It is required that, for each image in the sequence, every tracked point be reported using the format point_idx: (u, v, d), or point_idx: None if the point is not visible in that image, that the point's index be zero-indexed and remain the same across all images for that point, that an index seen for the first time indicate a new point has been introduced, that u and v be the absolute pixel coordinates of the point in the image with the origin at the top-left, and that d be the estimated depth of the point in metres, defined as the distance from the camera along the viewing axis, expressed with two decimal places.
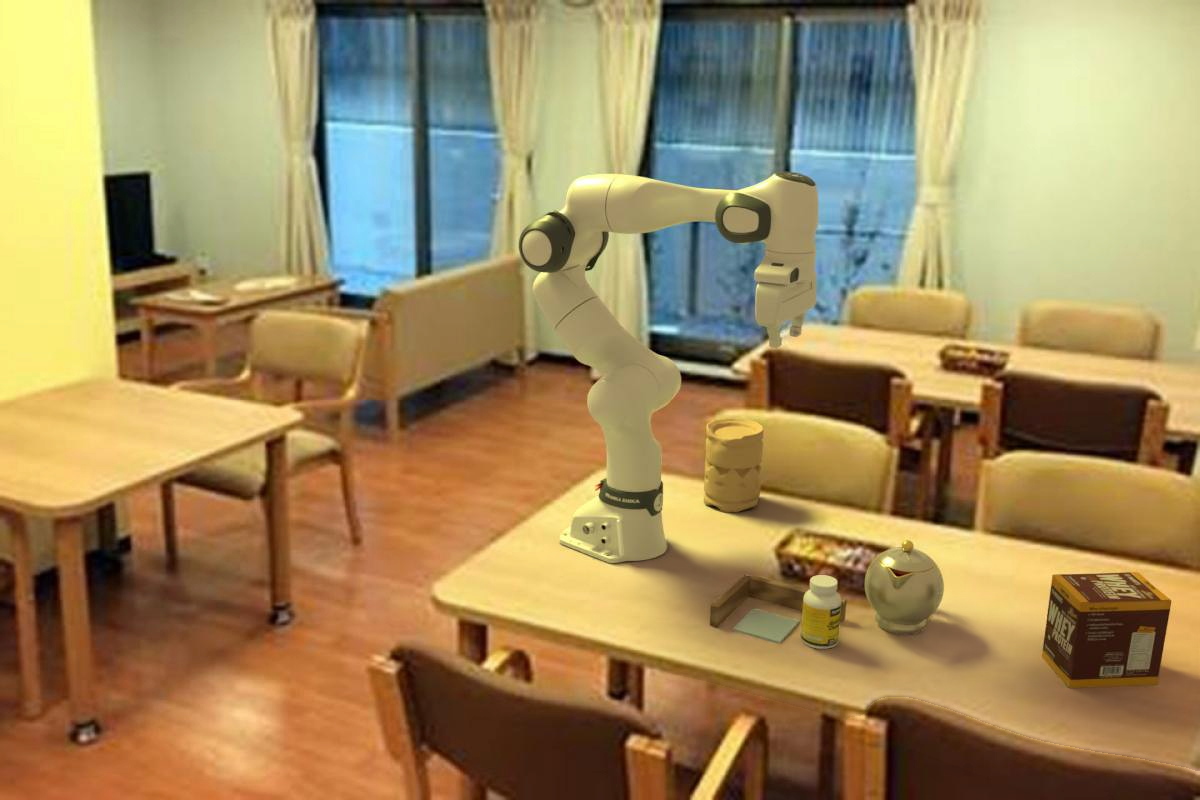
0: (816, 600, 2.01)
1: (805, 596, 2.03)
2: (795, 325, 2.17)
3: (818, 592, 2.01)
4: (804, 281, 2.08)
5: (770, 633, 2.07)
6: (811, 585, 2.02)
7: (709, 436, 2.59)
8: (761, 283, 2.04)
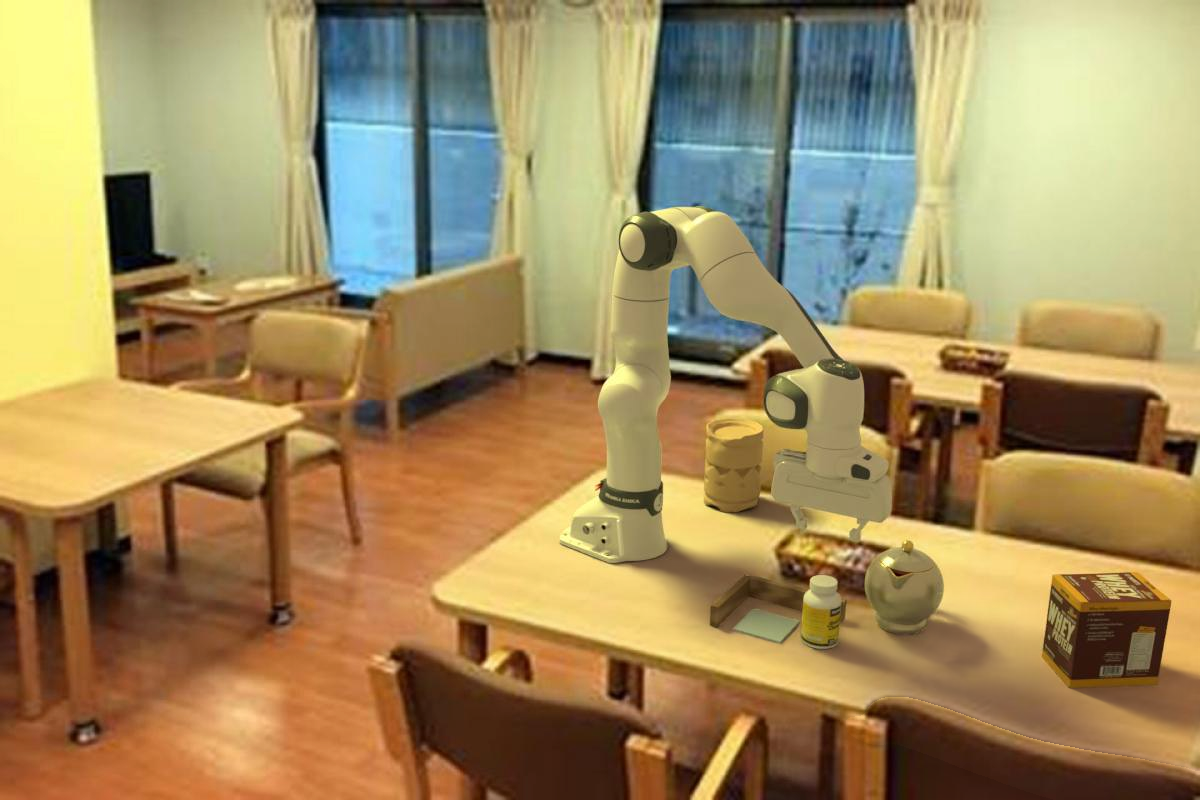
0: (816, 600, 2.01)
1: (805, 596, 2.03)
2: (801, 518, 2.01)
3: (818, 592, 2.01)
4: None
5: (770, 633, 2.07)
6: (811, 585, 2.02)
7: (709, 436, 2.59)
8: (876, 481, 1.91)
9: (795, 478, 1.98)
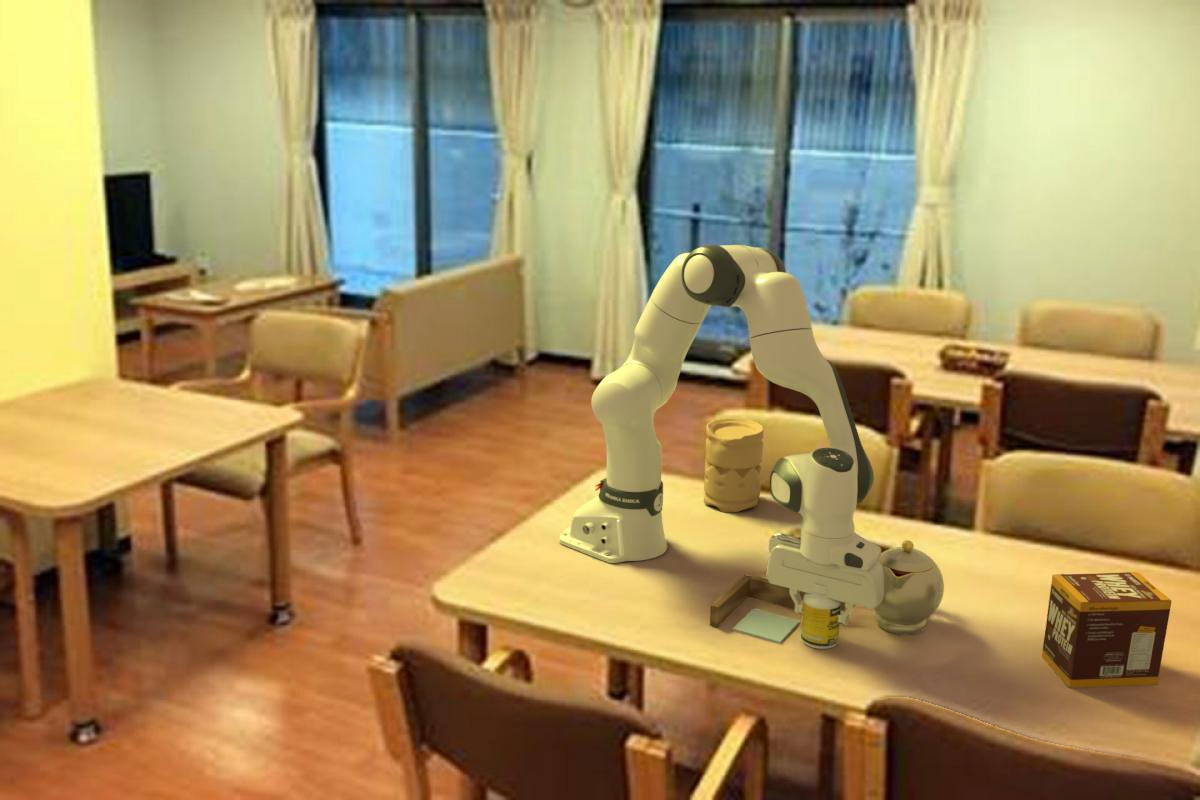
0: (816, 600, 2.01)
1: (805, 596, 2.03)
2: (799, 601, 2.06)
3: (818, 592, 2.01)
4: None
5: (770, 633, 2.07)
6: None
7: (709, 436, 2.59)
8: (869, 569, 1.95)
9: (790, 563, 2.03)
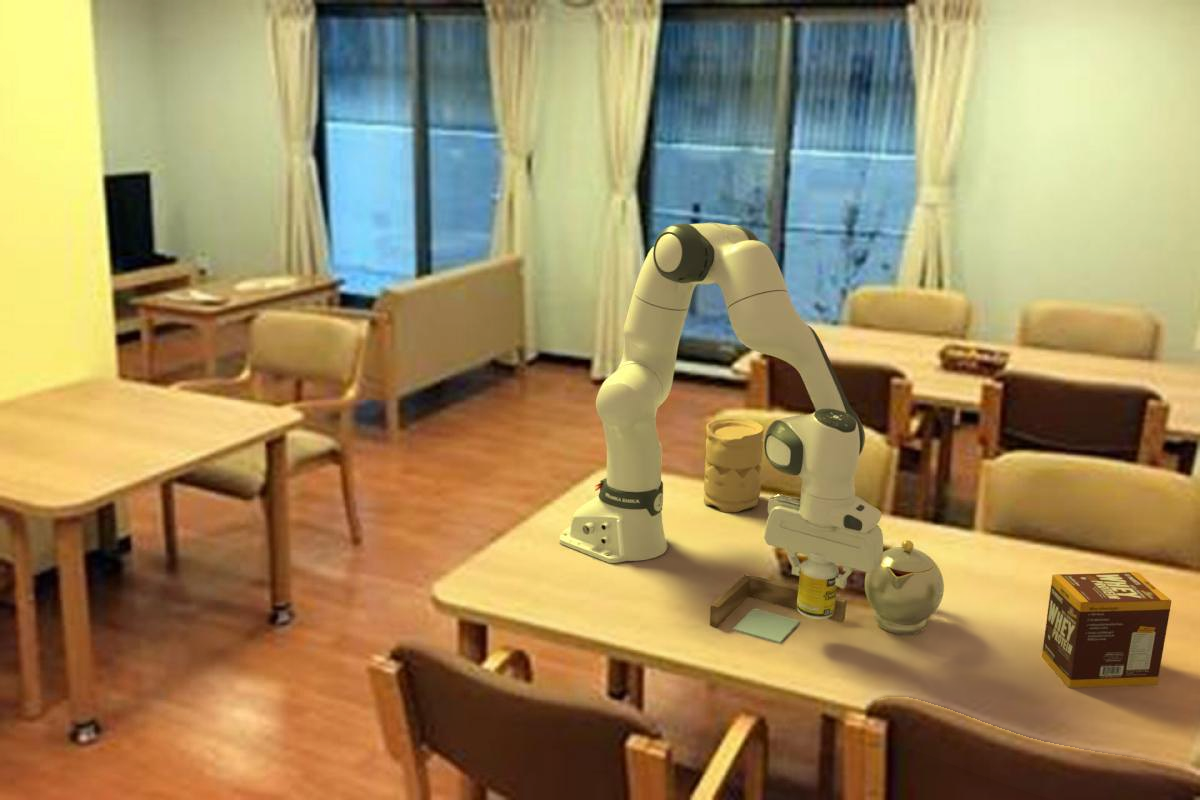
0: (813, 570, 1.99)
1: (802, 565, 2.01)
2: (797, 564, 2.03)
3: (815, 561, 1.99)
4: None
5: (770, 633, 2.07)
6: (809, 554, 2.00)
7: (709, 436, 2.59)
8: (868, 532, 1.93)
9: (788, 524, 2.01)
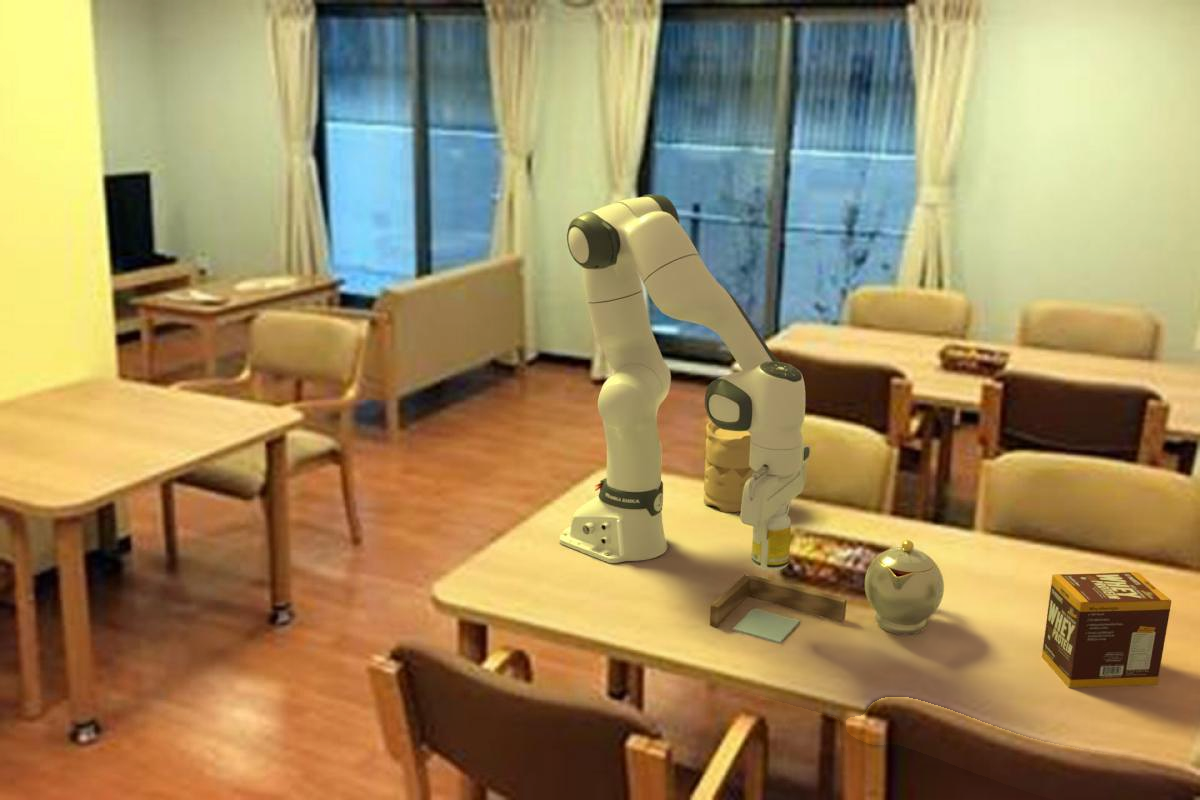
0: (787, 519, 2.03)
1: (775, 524, 2.01)
2: None
3: (785, 511, 2.03)
4: None
5: (770, 633, 2.07)
6: None
7: (709, 436, 2.59)
8: None
9: (769, 494, 1.97)
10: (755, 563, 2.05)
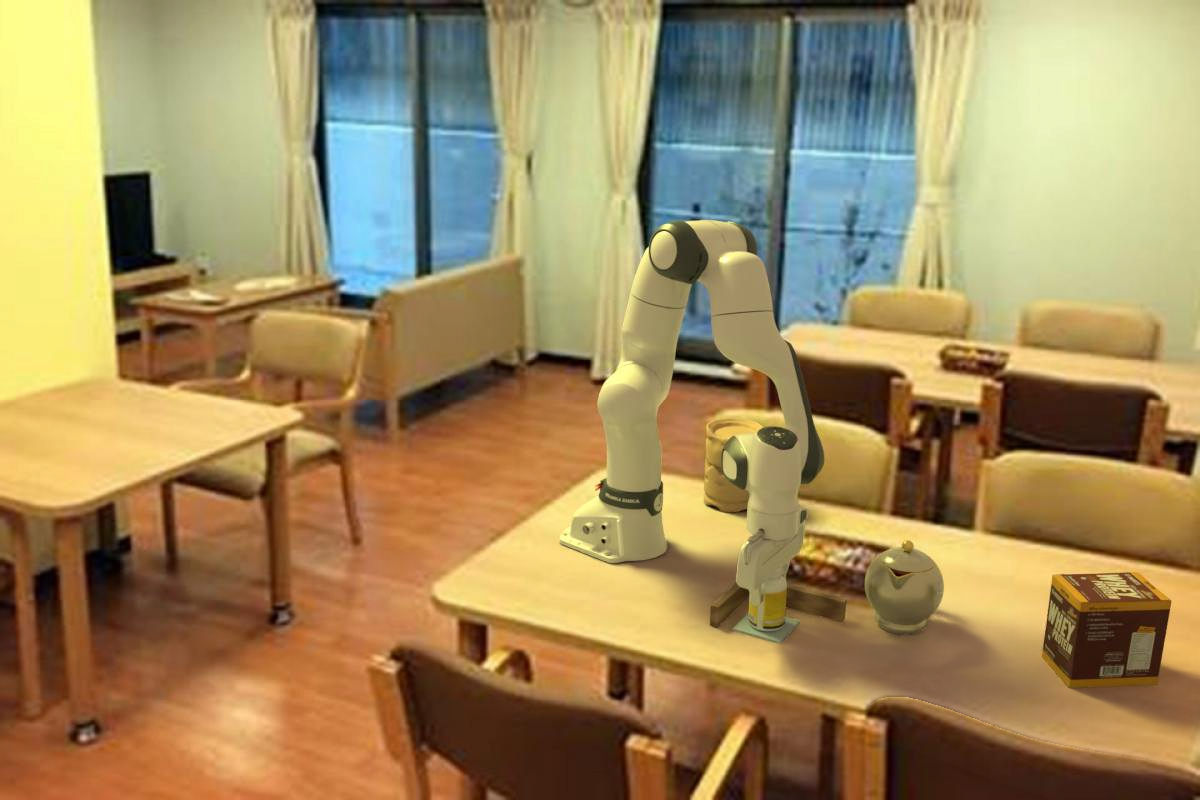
0: (782, 582, 2.06)
1: (771, 587, 2.05)
2: None
3: (781, 574, 2.06)
4: None
5: (770, 633, 2.07)
6: None
7: (709, 436, 2.59)
8: None
9: (764, 557, 2.00)
10: (751, 624, 2.09)
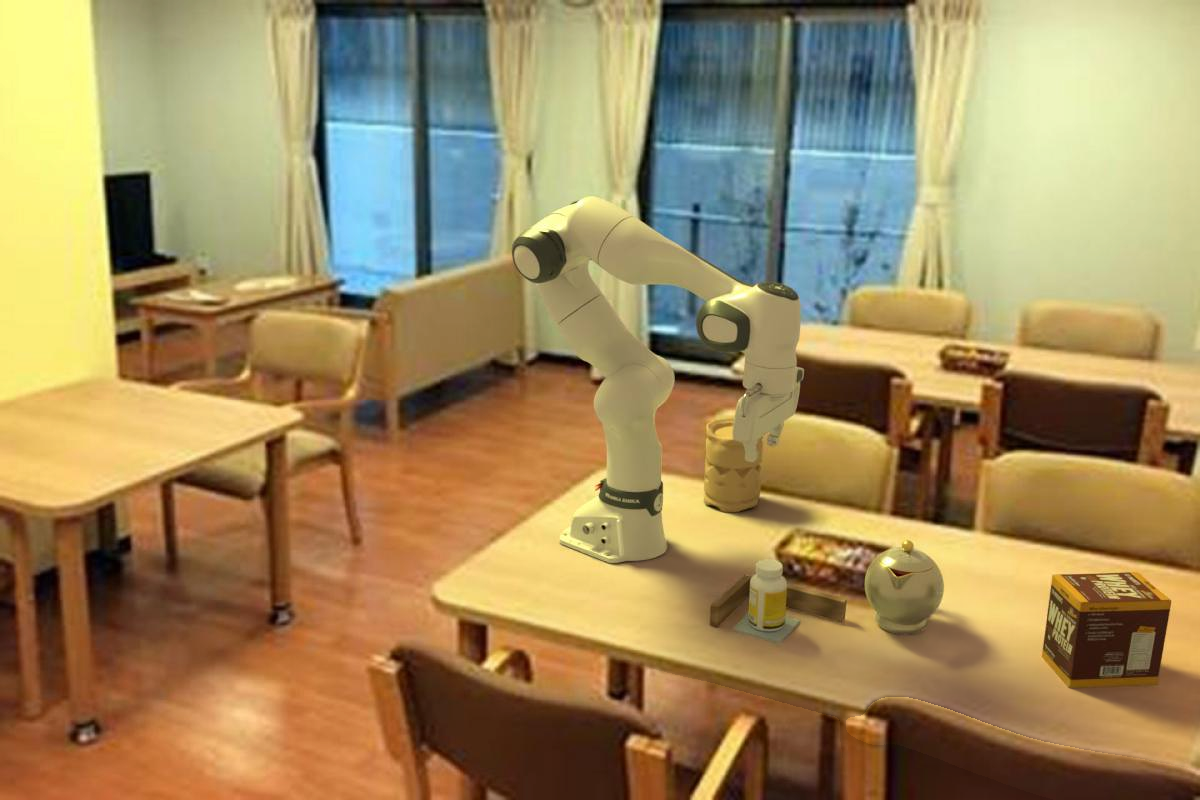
0: (782, 582, 2.06)
1: (771, 587, 2.05)
2: None
3: (781, 574, 2.06)
4: None
5: (770, 633, 2.07)
6: (774, 573, 2.05)
7: (709, 436, 2.59)
8: None
9: (761, 412, 1.99)
10: (751, 624, 2.09)
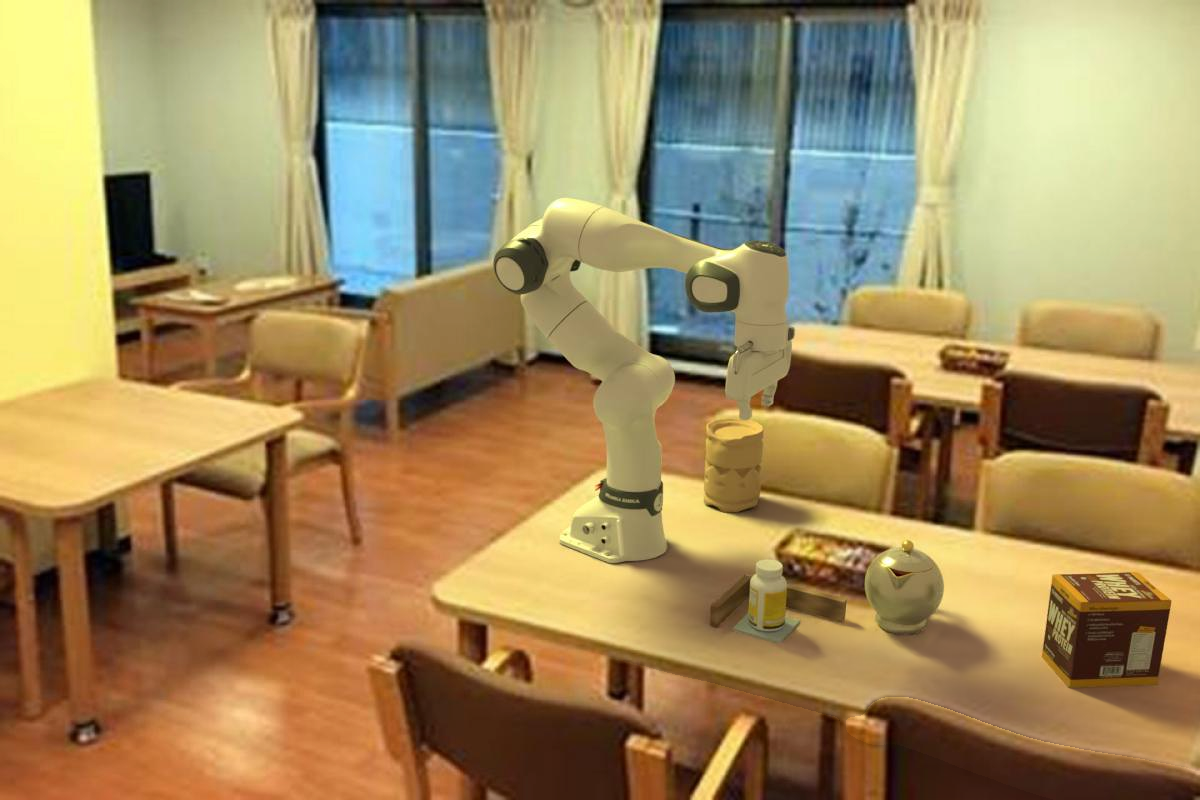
0: (782, 582, 2.06)
1: (771, 587, 2.05)
2: None
3: (781, 574, 2.06)
4: None
5: (770, 633, 2.07)
6: (774, 573, 2.05)
7: (709, 436, 2.59)
8: None
9: (753, 369, 2.00)
10: (751, 624, 2.09)
